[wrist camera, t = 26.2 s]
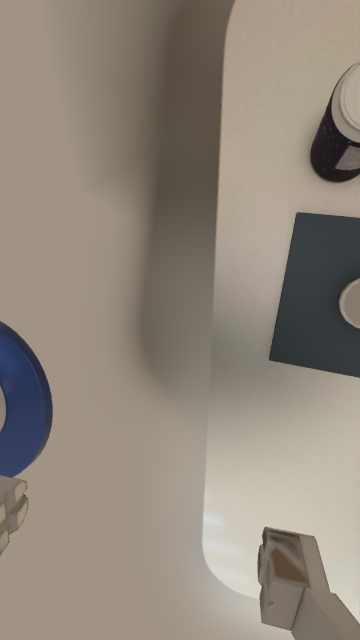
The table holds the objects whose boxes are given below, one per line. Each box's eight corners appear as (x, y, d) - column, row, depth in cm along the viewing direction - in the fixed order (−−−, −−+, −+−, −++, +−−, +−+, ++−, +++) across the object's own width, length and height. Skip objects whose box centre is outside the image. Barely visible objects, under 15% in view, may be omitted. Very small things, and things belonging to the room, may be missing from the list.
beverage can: (381, 129, 31) (450, 48, 20) (357, 189, 32) (409, 147, 21) (321, 117, 32) (353, 33, 21) (301, 176, 33) (320, 128, 22)
